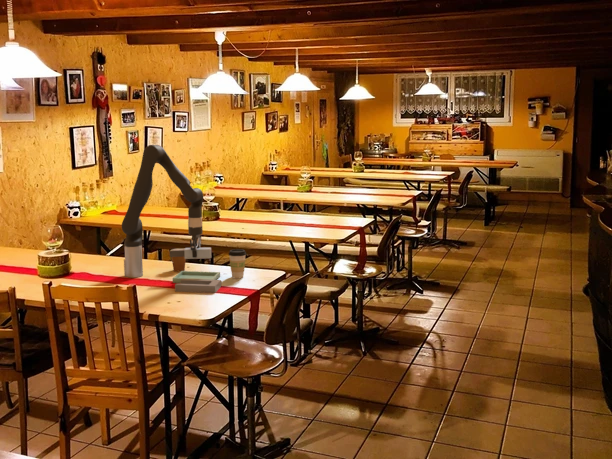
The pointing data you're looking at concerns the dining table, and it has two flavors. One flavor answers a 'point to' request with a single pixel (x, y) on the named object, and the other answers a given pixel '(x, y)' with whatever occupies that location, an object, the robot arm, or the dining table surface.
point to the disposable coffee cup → (178, 262)
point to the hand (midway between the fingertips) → (196, 255)
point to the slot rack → (198, 285)
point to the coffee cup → (237, 262)
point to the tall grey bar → (188, 253)
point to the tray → (196, 276)
